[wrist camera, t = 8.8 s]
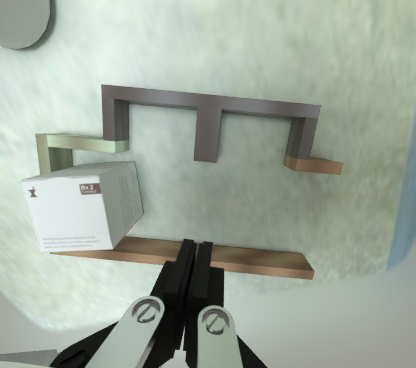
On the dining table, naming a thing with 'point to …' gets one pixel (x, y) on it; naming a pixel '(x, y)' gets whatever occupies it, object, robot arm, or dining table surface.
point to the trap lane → (204, 151)
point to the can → (22, 22)
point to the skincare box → (83, 206)
